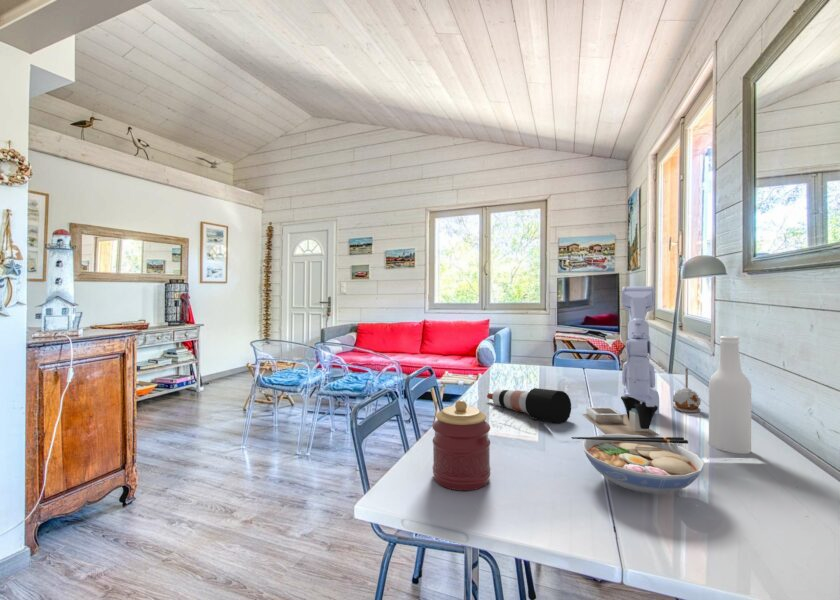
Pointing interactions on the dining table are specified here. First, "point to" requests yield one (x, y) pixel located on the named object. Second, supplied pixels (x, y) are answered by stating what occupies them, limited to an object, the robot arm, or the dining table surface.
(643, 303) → the robot arm
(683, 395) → the caramel apple
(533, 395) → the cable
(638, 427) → the connector plug
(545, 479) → the dining table surface
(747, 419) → the alcohol
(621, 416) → the end holder
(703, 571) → the dining table surface
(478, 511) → the dining table surface
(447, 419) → the canister
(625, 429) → the board
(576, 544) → the dining table surface
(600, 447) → the ramen bowl
